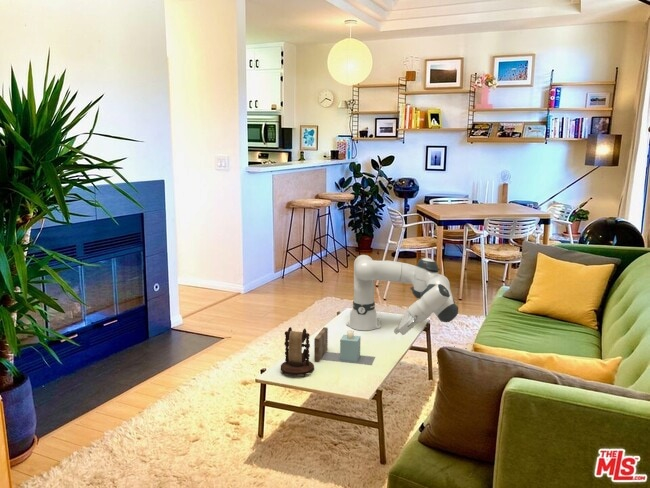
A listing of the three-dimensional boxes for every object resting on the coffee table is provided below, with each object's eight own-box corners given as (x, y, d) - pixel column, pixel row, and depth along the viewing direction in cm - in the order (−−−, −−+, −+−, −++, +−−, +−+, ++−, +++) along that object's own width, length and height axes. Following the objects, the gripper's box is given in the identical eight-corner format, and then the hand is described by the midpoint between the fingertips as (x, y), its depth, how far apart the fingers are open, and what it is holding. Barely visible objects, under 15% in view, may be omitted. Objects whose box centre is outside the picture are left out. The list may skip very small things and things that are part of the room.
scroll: (275, 376, 233) (275, 332, 229) (287, 363, 247) (286, 321, 243) (308, 380, 229) (308, 335, 226) (318, 366, 243) (317, 324, 240)
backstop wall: (323, 350, 262) (323, 327, 259) (327, 351, 261) (327, 327, 259) (314, 363, 246) (314, 338, 244) (318, 364, 246) (318, 339, 244)
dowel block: (343, 354, 254) (343, 328, 252) (360, 356, 252) (360, 330, 250) (340, 360, 248) (340, 333, 245) (357, 362, 246) (357, 335, 243)
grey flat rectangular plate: (325, 353, 258) (325, 351, 258) (375, 358, 252) (375, 356, 252) (320, 361, 249) (320, 359, 249) (371, 367, 243) (371, 365, 242)
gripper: (420, 325, 228) (397, 345, 232) (424, 311, 247) (402, 329, 251) (410, 314, 228) (386, 334, 232) (415, 301, 247) (393, 320, 252)
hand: (395, 332), depth 242 cm, fingers closed
